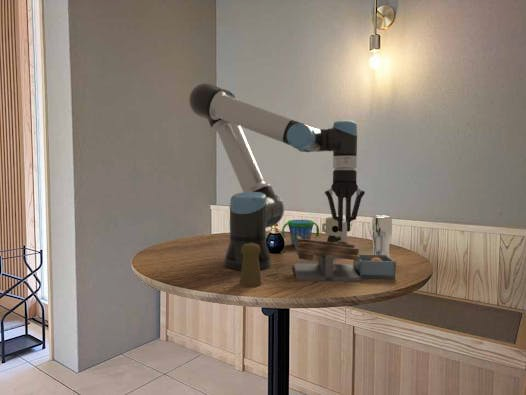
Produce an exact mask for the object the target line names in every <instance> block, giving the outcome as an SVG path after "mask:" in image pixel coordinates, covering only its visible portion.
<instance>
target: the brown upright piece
mask: <svg viewBox="0 0 526 395" xmlns="http://www.w3.org/2000/svg"><path fill="white" fill-rule="evenodd" d="M241 252H242V254H243V262H242V269H241V270H240V277H239V278H240V279H239V283H240V284H241V285H240V284H239V285H240V286H242V285H244V286H243V287H246V286H255V287H259V285H260V286H261V285H262V276H261V269H260V266H259V257H258V256H259V254H260V246H259V245H258V244H254V243H248V244H244V245H243V246H242V249H241Z"/></svg>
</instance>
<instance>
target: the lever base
mask: <svg viewBox="0 0 526 395" xmlns="http://www.w3.org/2000/svg"><path fill="white" fill-rule="evenodd" d="M317 257H318V259H317V263H301V262H299V263H293V269H294V272H295V273H294V274H295V277H296V280H297V281H311V282H312V281H314V282H315V281H317V282H318V281H320V282H321V281H325V282H362V278H361V277H360V276H359V275H358V274H357V273H356V271H355V270H354V269H353V267H352V264H348V263H347V264H345V263H342V264H341V263H337V264H336V263H334V258H333V256H332V255H325V256H317Z"/></svg>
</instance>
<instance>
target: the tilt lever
mask: <svg viewBox="0 0 526 395" xmlns="http://www.w3.org/2000/svg"><path fill="white" fill-rule="evenodd" d="M294 249H295V250H296V253H297V256H298V260H306V261H314V256H317V257H318V256H325V255H332V256H333V259H334V258H335V259H343V260H352V261H354V260H359V261H360V256H359V255H358V254H359V250H360V249H359V248H356V247H355V245H354V244H350V243H349V242H348V241H347V242H342V241H337V242H327V240H326V241H325V240H324V241H323V240H317V239H310V240H309V239H301V236H296V242H295V246H294Z"/></svg>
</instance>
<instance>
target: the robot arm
mask: <svg viewBox="0 0 526 395" xmlns="http://www.w3.org/2000/svg"><path fill="white" fill-rule="evenodd" d="M188 100H189V101H188V102H189V107H190V109H191V111H193V113H194V114H195V115H197V116H199V117H200V118H204V119H207V122H208V123H209V126H210V128H211V131H214V132H216V133H217V134H218V136H219V138H220V141H221V143H222V146H223V148H224V151H225V153H226V155H227V157H228V160H229V162H230V164H231V167H232V169H233V171H234V174H235V176H236V179H237V181H238V183H239V185H240V188H241V189H242V190H241V191H242V192H237V193H235V194H233V195H232V196H231V197H230V204H229V243H228V247H227V248H226V253H225V255H224V262H223V264H224V267H226V268H229V269H232V270H239V271H241V269H242V262H243V254H242V252H241V249H242V246H243V245H244V244H248V243H254V244H258V245H259V246H260V254H259V256H258V257H259V266H260V270H263V269H267V268H270V267H271V266H272V265H271V263H272V262H271V260H272V259H271V255H270V251H269V248H268V245H267V242H266V240H267V239H266V234H267V233H266V232H267V230H266V229H267V228H271V227H274V226H275V225H277V224H278V223H279V222H280V221H281V220H282V218H283V216H284V214H285V205H284V201H283V200H282V198H281V197H279V196H278V195H276V194H275V191H274V190H273V187H272V185H271V184H270V183H267V182H265V179H264V177H263V175H262V173H261V170H260V167H259V165H258V163H257V160H256V158H255V156H254V154H253V152H252V150H251V146H250V145H249V142H248V140H247V138H246V135H245V133H244V131H243V128H244V129H246V130H249V131H252V132H254V133H258V134H259V135H262V136H264V137H267V138H271V139H273V140H275V141H278V142H280V143H282V144H283V143H284V144H285V145H288V146H291V147H292V148H294V149H296V150H297V151H299V152H301V153H302V152H303V153H304V152H305V153H316V152H317V153H318V152H332V154H333V156H332V168H333V169H334V170H333V171H332V185H331V187H330V188H329V189H327V190H325V191H324V194H325V195H326V197H327V200H328V206H329V209H330V213H331V217H332V218H333V219H334V220H337V221H338V231H339V232H341V236H340V237H341V241H342V242H348V232H350V231H351V222H353V221H356V220H357V216H358V212H359V209H360V205H361V202H362V198H363V196H365V193H366V192H365V191H364V190H361V189H360V188H359V186H358V184H357V178H358V177H357V176H358V175H357V174H358V172H357V170H356V169H357V166H358V165H357V162H358V161H357V158H358V157H357V156H358V155H357V153H358V130H357V129H358V126H357V123H356V122H355V121H353V120H337V121H334V122H333V126H332V127H329V128H315V127H314V126H311V125H309V124H307V123H303V122H300V121H297V120H293V119H291V118H289V117H286V116H283V115H280V114H277V113H275V112H272V111H269V110H267V109H263V108H260V107H257V106H255V105H253V104H249V103H247V102H243V101H241V100H239V98H238V97H237V96H236V95H235V94H234V93H232V92H231V91H230V90H228V89H224V88H221V87H218V86H216V85H213V84H211V83H200V84H198V85H196V86H195V87H193V88H192V90H191V92H190V94H189V98H188ZM334 194H335V196H336V197H337V212H336V206H335V202H334V199H333V195H334ZM354 195H356V197H355V199H354V204H353V208H352V197H353V196H354ZM344 198H345V218H344ZM343 218H344V221H343Z"/></svg>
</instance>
